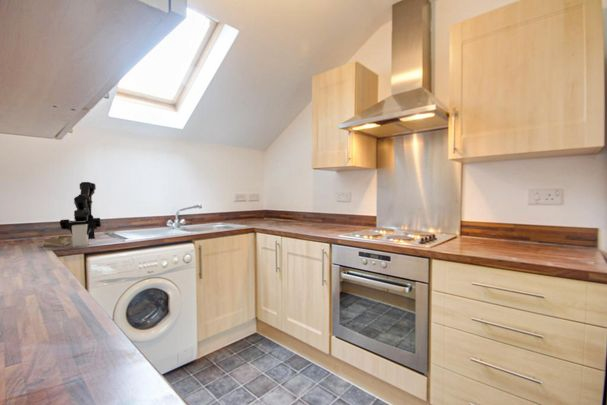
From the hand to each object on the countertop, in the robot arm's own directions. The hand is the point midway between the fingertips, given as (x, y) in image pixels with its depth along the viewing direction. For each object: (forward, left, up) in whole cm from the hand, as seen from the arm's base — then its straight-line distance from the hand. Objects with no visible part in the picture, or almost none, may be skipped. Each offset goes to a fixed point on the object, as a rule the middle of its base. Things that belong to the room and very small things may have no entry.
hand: (79, 234), depth 165 cm
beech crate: (+8, -14, -7) cm, 18 cm away
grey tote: (0, -1, -7) cm, 7 cm away
